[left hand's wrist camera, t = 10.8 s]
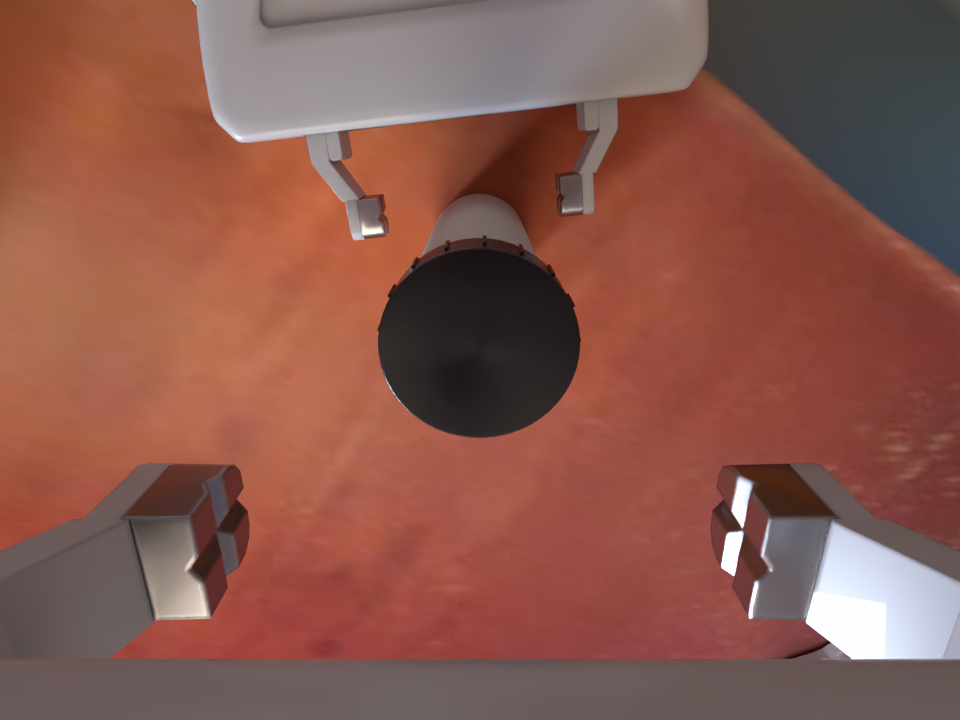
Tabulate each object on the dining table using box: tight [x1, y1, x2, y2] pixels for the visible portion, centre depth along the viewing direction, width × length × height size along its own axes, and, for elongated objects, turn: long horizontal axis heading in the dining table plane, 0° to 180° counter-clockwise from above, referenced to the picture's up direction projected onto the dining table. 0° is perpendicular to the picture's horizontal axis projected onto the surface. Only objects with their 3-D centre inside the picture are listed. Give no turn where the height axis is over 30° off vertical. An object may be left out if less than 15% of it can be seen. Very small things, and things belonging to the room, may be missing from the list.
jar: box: [421, 194, 537, 257], centre depth 25 cm, size 5×5×17 cm
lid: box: [378, 235, 581, 438], centre depth 18 cm, size 6×6×2 cm
